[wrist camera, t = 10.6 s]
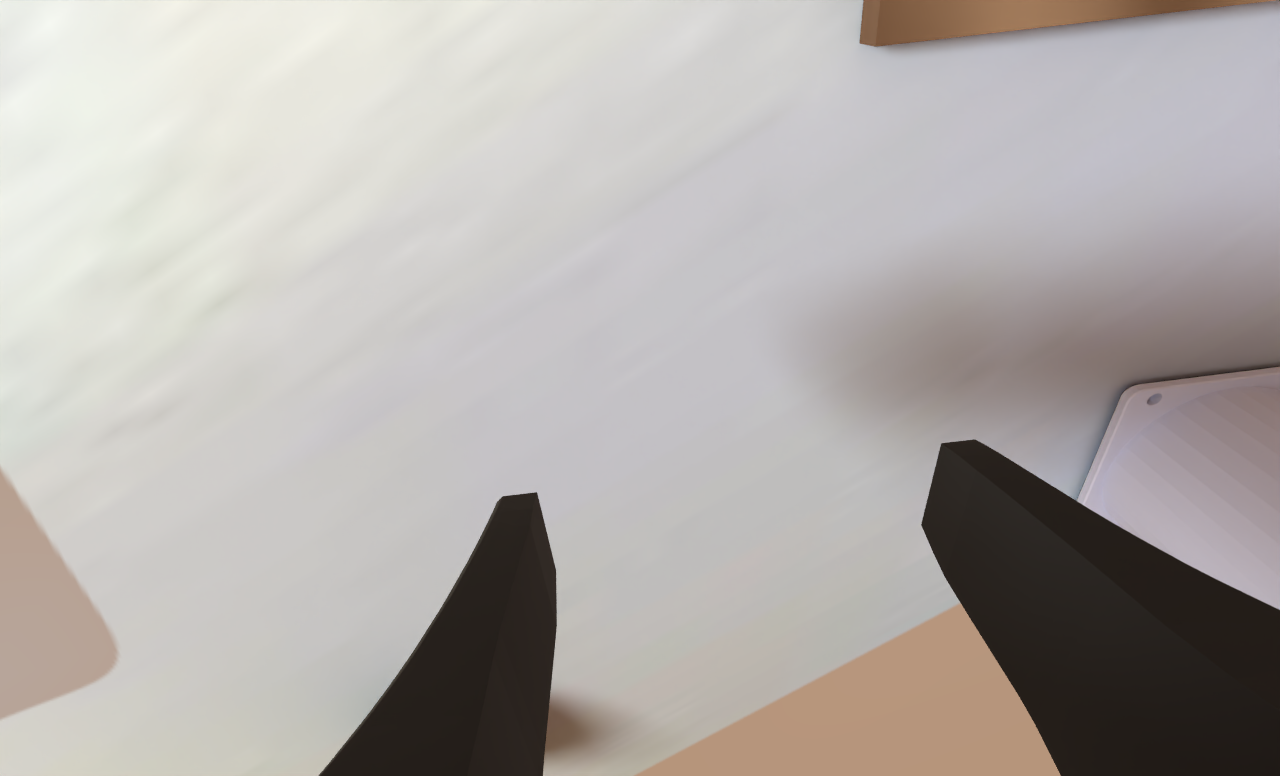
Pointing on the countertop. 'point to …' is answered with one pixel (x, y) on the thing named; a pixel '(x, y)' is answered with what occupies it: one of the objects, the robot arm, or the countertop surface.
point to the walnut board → (1001, 15)
